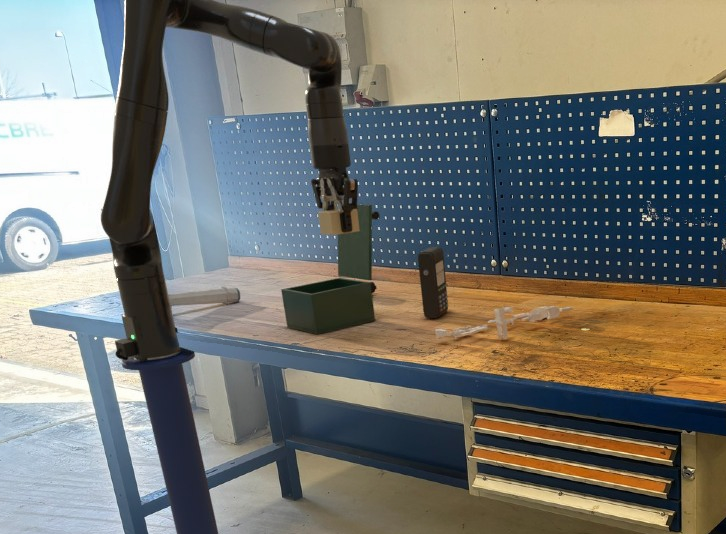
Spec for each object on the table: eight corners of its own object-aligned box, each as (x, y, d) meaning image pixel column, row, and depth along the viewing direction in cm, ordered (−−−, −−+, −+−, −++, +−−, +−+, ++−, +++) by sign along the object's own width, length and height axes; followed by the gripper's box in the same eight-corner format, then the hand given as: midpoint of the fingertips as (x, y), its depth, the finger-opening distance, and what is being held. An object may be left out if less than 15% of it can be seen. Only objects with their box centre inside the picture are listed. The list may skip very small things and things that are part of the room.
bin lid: (369, 204, 188) (389, 206, 192) (337, 203, 196) (357, 204, 200) (368, 280, 192) (389, 279, 196) (337, 275, 201) (357, 275, 205)
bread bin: (316, 334, 186) (310, 294, 183) (287, 327, 194) (281, 289, 191) (375, 320, 196) (370, 282, 193) (344, 314, 204) (339, 277, 201)
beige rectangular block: (333, 235, 171) (330, 212, 169) (320, 233, 174) (317, 211, 172) (359, 231, 175) (357, 209, 173) (347, 230, 178) (344, 208, 176)
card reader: (439, 319, 193) (433, 252, 187) (422, 319, 193) (415, 252, 188) (450, 310, 201) (444, 246, 195) (434, 310, 202) (428, 246, 196)
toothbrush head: (241, 287, 226) (149, 291, 208) (242, 312, 228) (151, 319, 209) (230, 285, 229) (139, 290, 211) (232, 310, 231) (141, 317, 213)
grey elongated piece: (467, 350, 161) (423, 352, 169) (574, 322, 187) (531, 325, 195) (462, 316, 160) (417, 320, 168) (571, 292, 186) (527, 297, 193)
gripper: (293, 144, 171) (305, 231, 177) (332, 143, 161) (343, 235, 167) (325, 142, 175) (336, 227, 182) (365, 140, 166) (375, 230, 172)
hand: (340, 230), depth 174 cm, fingers closed on beige rectangular block, 4 cm apart
